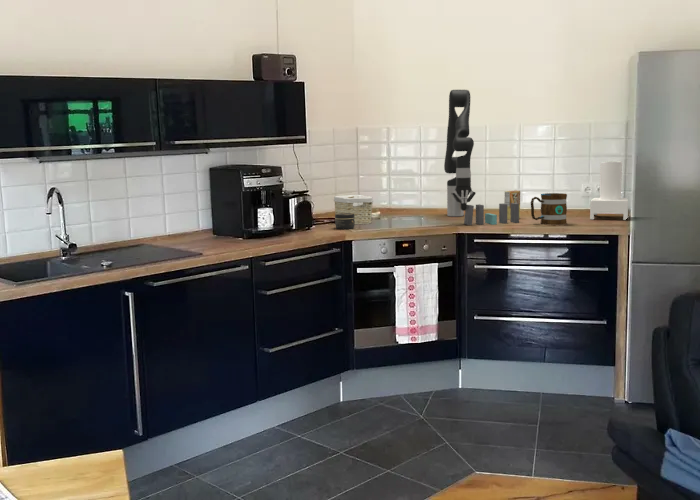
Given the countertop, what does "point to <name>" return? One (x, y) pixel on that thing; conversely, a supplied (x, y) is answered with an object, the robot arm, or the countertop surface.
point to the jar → (344, 221)
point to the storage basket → (355, 207)
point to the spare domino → (490, 218)
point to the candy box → (511, 201)
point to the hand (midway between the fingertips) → (463, 210)
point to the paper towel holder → (610, 191)
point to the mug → (551, 208)
